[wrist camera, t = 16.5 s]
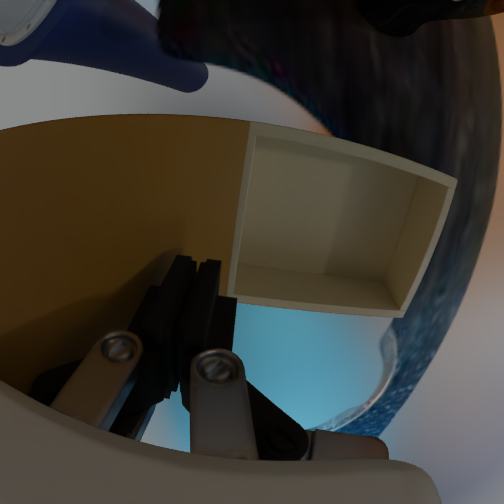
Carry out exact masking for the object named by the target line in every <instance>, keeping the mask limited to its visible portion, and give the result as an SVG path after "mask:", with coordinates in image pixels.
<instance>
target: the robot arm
mask: <svg viewBox="0 0 504 504" xmlns="http://www.w3.org/2000/svg"><path fill="white" fill-rule="evenodd" d="M56 1H57V0H0V44H1V45H3V46H13V45H16V44H18V43H20V42H21V41H23V40H24V39H26V38H27V37H28V36H29V35H30V34H31V33H32V32H33V31H34V30H35V29H36V28H37V27H38V26H39V25H40V24H41V22H42V21H43V20H44V19H45V18H46V16H47V15H48V13H49V12H50V11H51V9H52V8H53V6H54V4H55V3H56ZM221 265H222V261H221V260H214V259H207V260H206V262H201V263H200V265H199V268H198V271H197V261H193V260H192V256H185V255H176V257H175V259H174V261H173V263H172V265H171V267H170V269H169V270H168V272H167V274H166V276H165V278H164V280H163V282H162V284H161V286H156V285H151V286H150V287H149V289H148V291H147V293H146V295H145V296H144V298H143V300H142V302H141V304H140V306H139V308H138V309H137V311H136V313H135V315H134V317H133V319H132V321H131V323H130V325H129V327H128V329H127V331H125V330H116V331H111V332H109V333H107V334H105V335H103V336H102V337H101V338H100V339H99V340H98V341H97V343H96V344H95V345H94V346H93V348H92V349H91V350H90V352H89V353H88V354H87V355H86V357H84V358H81V359H79V360H76V361H73V362H70V363H67V364H65V365H62V366H59V367H56V368H53V369H50V370H47V371H45V372H43V373H41V374H40V375H39V376H38V377H37V378H36V379H35V380H34V382H33V384H32V388H31V392H32V394H31V392H29V393H28V394H27V395H25V394H23V393H22V392H20V391H18V390H16V389H15V388H13V387H11V386H9V385H8V384H6V383H5V382H3V381H1V380H0V504H442V502H441V499H440V496H439V493H438V491H437V488H436V486H435V484H434V482H433V480H432V479H431V477H430V476H429V475H428V474H427V473H426V472H425V471H424V470H423V469H421V468H419V467H417V466H415V465H412V464H409V463H406V462H402V461H397V460H390V459H389V453H388V448H387V446H386V444H385V443H384V442H383V441H382V440H380V439H379V438H377V437H373V436H365V435H355V434H346V433H339V432H332V431H325V430H319V429H315V431H310V430H304V429H303V428H302V427H301V425H300V424H298V423H296V421H294V420H293V419H292V418H291V417H289V416H288V415H287V414H286V413H284V412H283V411H282V410H281V409H280V408H278V407H277V406H276V405H275V404H274V403H272V402H271V401H270V400H269V399H268V398H267V397H265V396H264V395H263V394H262V393H261V392H260V391H258V390H257V389H256V388H255V387H254V386H253V385H251V384H250V383H249V382H248V381H247V380H246V376H245V369H244V365H243V362H242V361H241V359H240V358H239V357H238V356H237V355H236V354H234V353H233V352H232V346H233V335H234V325H235V316H236V305H237V298H235V297H227V296H220V295H219V285H220V275H221ZM179 382H180V392H181V396H182V404H183V406H184V407H185V408H186V409H187V411H189V413H190V453H189V452H183V451H178V450H173V449H168V448H164V447H159V446H155V445H151V444H147V443H143V442H140V440H141V438H142V436H143V434H144V431H145V430H146V427H147V425H148V423H149V421H150V419H151V417H152V415H153V413H154V410H155V407H156V404H157V403H159V402H161V401H163V400H164V398H167V399H169V398H170V394H171V391H174V392H176V391H177V388H178V384H179Z"/></svg>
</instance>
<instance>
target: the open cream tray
mask: <svg viewBox="0 0 504 504" xmlns="http://www.w3.org/2000/svg"><path fill="white" fill-rule="evenodd" d="M456 184H457V179H456V178H453V177H451V176H449V175H446V174H444V173H442V172H439V171H437V170H434V169H432V168H429V167H427V166H424V165H422V164H419V163H416V162H414V161H411V160H408V159H405V158H403V157H400V156H397V155H394V154H391V153H388V152H385V151H382V150H378V149H375V148H372V147H368V146H365V145H362V144H358V143H354V142H351V141H347V140H343V139H339V138H335V137H331V136H327V135H323V134H318V133H314V132H310V131H305V130H300V129H295V128H289V127H284V126H279V125H272V124H266V123H260V122H253V121H250V129H249V136H248V142H247V149H246V155H245V162H244V169H243V176H242V183H241V190H240V197H239V204H238V211H237V219H236V226H235V233H234V241H233V249H232V256H231V264H230V272H229V280H228V288H227V297H235V298H237V303H244V304H251V305H259V306H267V307H276V308H284V309H294V310H303V311H314V312H325V313H337V314H348V315H362V316H377V317H379V316H380V317H396V318H403V316H404V314H405V312H406V310H407V308H408V306H409V304H410V302H411V300H412V298H413V296H414V294H415V292H416V290H417V288H418V286H419V284H420V282H421V279H422V277H423V275H424V273H425V271H426V268H427V266H428V264H429V261H430V259H431V257H432V254H433V252H434V249H435V247H436V244H437V242H438V239H439V236H440V234H441V231H442V228H443V225H444V222H445V220H446V217H447V214H448V210H449V207H450V204H451V201H452V198H453V194H454V191H455V190H454V189H455V188H456Z"/></svg>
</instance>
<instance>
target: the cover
mask: <svg viewBox="0 0 504 504" xmlns="http://www.w3.org/2000/svg"><path fill="white" fill-rule="evenodd" d="M249 129H250V121H245V120H237V119H229V118H219V117H208V116H194V115H174V114H173V115H172V114H118V115H99V116H86V117H75V118H66V119H59V120H51V121H44V122H38V123H32V124H27V125H22V126H17V127H12V128H7V129H3V130H0V380H1V381H3V382H5V383H6V384H8V385H9V386H11V387H13V388H15V389H16V390H18V391H20V392H22V393H23V394H25V395H27V394H28V393H29V392H31V388H32V384H33V382H34V380H35V379H36V378H37V377H38V376H39V375H40V374H41V373H43V372H45V371H47V370H50V369H53V368H56V367H59V366H62V365H65V364H67V363H70V362H73V361H76V360H79V359H81V358H84V357H86V355H87V354H88V353H89V352H90V350H91V349H92V348H93V346H94V345H95V344H96V343H97V341H98V340H99V339H100V338H101V337H102V336H103V335H105V334H107V333H109V332H111V331H116V330H125V331H127V329H128V327H129V325H130V323H131V321H132V319H133V317H134V315H135V313H136V311H137V309H138V308H139V306H140V304H141V302H142V300H143V298H144V296H145V295H146V293H147V291H148V289H149V287H150V286H151V285H156V286H161V284H162V282H163V280H164V278H165V276H166V274H167V272H168V270H169V269H170V267H171V265H172V263H173V261H174V259H175V257H176V255H185V256H192V260H193V261H197V271H198V268H199V265H200V263H201V262H206V260H207V259H214V260H221V261H222V265H221V275H220V285H219V295H220V296H227V288H228V280H229V272H230V264H231V256H232V249H233V241H234V233H235V226H236V219H237V211H238V204H239V197H240V190H241V183H242V176H243V169H244V162H245V155H246V149H247V142H248V136H249ZM31 394H32V392H31Z"/></svg>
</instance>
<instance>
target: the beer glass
mask: <svg viewBox="0 0 504 504" xmlns="http://www.w3.org/2000/svg"><path fill="white" fill-rule="evenodd" d="M355 1H356V5H357V7H358V9H359V11H360V13H361V14H362V16H363V17H364V18H365V19H366V20H367V21H368V22H369V23H370V24H371V25H372V26H373V27H375V28H376V29H378V30H379V31H381V32H383V33H385V34H388V35H391V36H395V37H405V36H409V35H411V34H413V33H414V32H415V31H416V30H417V29H418V28H419V27H420V26H422V25H423V24H425V23H428V22H431V21H438V20H452V19H467V18H479V17H484V16H490V15H495V14H499V13H503V12H504V0H355Z"/></svg>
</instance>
